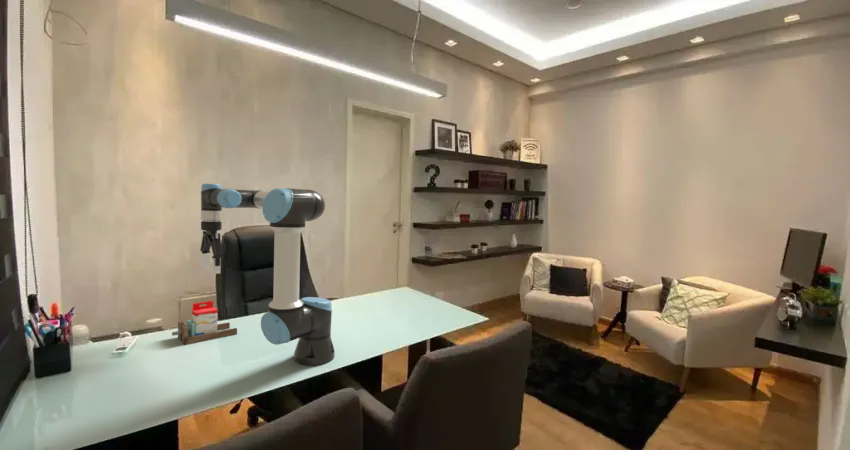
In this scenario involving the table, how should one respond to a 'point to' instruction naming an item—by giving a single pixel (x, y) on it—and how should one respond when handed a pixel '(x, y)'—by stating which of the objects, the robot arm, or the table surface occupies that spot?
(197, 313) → the ink box
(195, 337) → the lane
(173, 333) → the pusher
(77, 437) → the table surface
